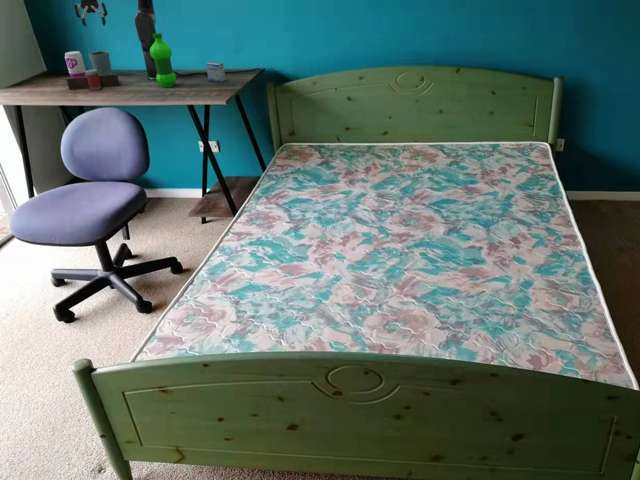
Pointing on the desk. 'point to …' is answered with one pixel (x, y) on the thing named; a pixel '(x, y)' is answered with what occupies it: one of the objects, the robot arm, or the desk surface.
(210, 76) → the medicine box
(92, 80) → the tin can
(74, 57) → the supplement can
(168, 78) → the plastic bottle
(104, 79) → the wooden wall
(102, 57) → the grey cup
